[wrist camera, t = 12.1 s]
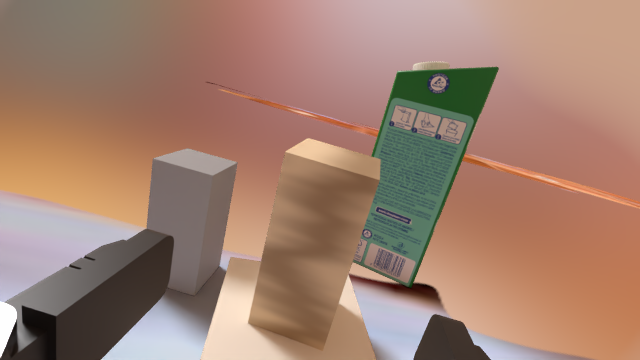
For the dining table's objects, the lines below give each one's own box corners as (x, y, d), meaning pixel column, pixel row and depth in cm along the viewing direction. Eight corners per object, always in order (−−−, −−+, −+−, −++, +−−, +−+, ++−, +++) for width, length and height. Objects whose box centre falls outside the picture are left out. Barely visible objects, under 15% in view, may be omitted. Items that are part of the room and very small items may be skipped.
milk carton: (359, 232, 46) (413, 62, 39) (418, 257, 43) (488, 78, 36) (339, 256, 38) (404, 46, 31) (410, 288, 35) (500, 65, 28)
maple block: (247, 322, 18) (285, 151, 15) (274, 277, 23) (308, 138, 19) (322, 351, 18) (379, 180, 14) (334, 298, 22) (380, 159, 19)
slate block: (141, 279, 26) (153, 158, 23) (174, 252, 30) (187, 148, 27) (194, 296, 26) (212, 175, 23) (219, 266, 30) (237, 162, 27)
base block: (184, 439, 16) (196, 370, 15) (221, 307, 26) (230, 257, 24) (359, 447, 18) (385, 385, 17) (333, 320, 27) (348, 274, 26)
